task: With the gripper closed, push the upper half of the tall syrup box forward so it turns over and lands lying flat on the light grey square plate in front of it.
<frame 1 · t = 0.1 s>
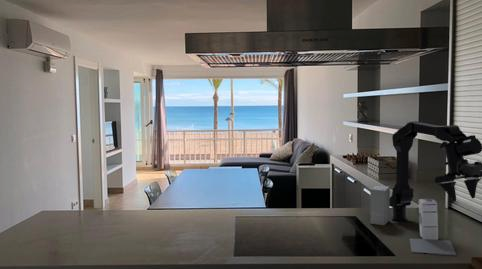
hand: (464, 199, 155), 15 cm above the countertop, tool pointing down, fingers open, 9 cm apart
syrup box: (428, 237, 161), on the countertop
skincare box: (380, 223, 184), on the countertop
light grey square plate: (431, 247, 150), on the countertop
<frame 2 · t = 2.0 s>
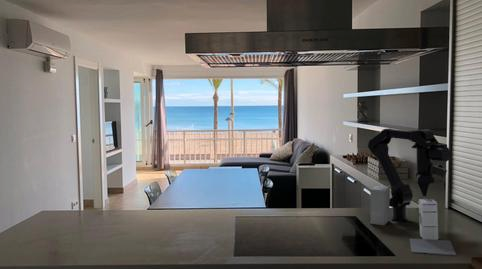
hand: (424, 196, 176), 13 cm above the countertop, tool pointing down, fingers closed
nothing on the countertop moved.
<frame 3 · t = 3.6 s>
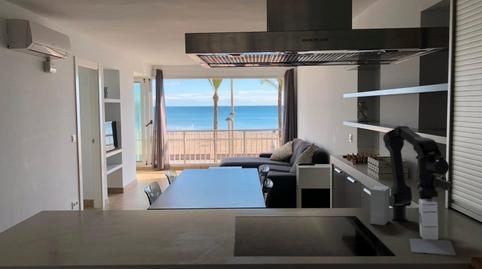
hand: (427, 210, 166), 9 cm above the countertop, tool pointing down, fingers closed
syrup box: (428, 237, 161), on the countertop, touching gripper
everything else where it was.
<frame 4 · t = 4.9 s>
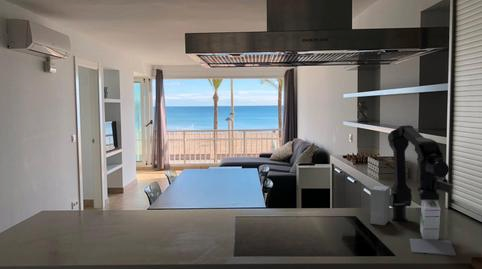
hand: (428, 213, 161), 9 cm above the countertop, tool pointing down, fingers closed
syrup box: (428, 235, 161), point 1 cm above the countertop
everything else where it was.
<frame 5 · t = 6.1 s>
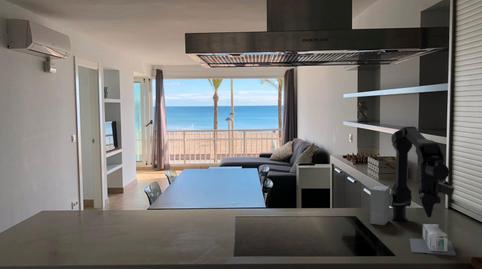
hand: (429, 217, 157), 9 cm above the countertop, tool pointing down, fingers closed
syrup box: (430, 231, 158), point 3 cm above the countertop, touching light grey square plate
everything else where it was.
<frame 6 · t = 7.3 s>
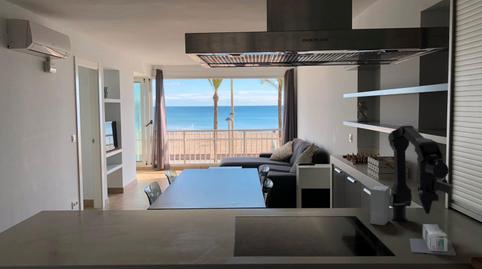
hand: (427, 213, 161), 9 cm above the countertop, tool pointing down, fingers closed
nothing on the countertop moved.
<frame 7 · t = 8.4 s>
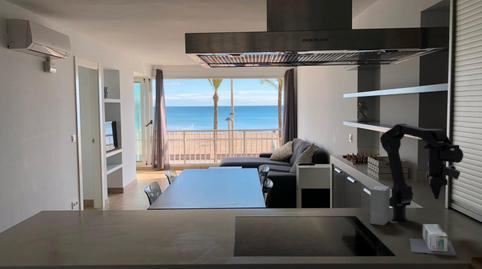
hand: (436, 198, 168), 13 cm above the countertop, tool pointing down, fingers closed
nothing on the countertop moved.
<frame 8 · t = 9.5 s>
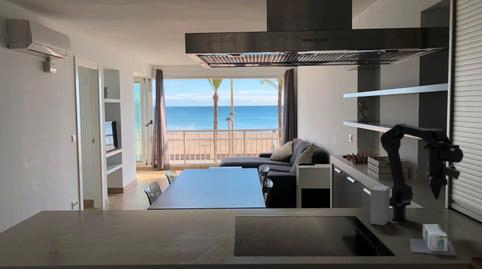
hand: (436, 198, 168), 13 cm above the countertop, tool pointing down, fingers closed
nothing on the countertop moved.
at the end: syrup box tilted 90°; syrup box inside the target area (5.0 cm from its centre), point 3.2 cm above the countertop; syrup box touching light grey square plate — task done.
